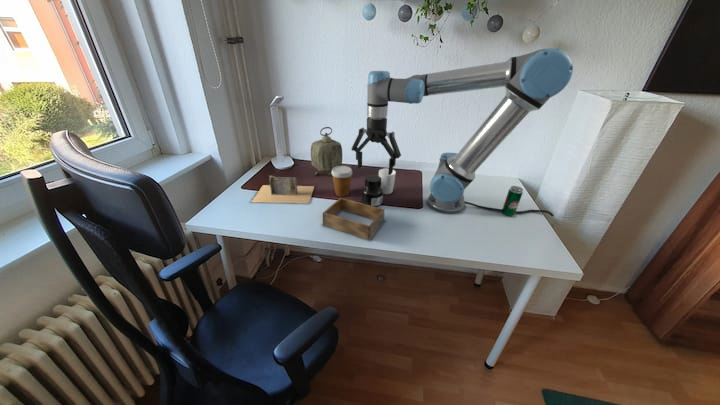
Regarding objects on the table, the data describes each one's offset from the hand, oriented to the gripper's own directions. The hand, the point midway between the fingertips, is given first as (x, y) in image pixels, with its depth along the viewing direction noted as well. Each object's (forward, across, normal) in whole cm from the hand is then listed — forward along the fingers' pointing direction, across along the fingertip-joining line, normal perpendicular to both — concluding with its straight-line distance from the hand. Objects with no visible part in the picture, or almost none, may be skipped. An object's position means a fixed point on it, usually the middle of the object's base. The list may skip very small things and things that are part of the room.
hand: (374, 170), depth 111 cm
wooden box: (+16, +1, +17) cm, 23 cm away
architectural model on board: (+15, +40, +11) cm, 44 cm away
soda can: (+17, -53, -20) cm, 59 cm away
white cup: (+16, 0, -14) cm, 21 cm away
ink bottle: (+16, +1, 0) cm, 16 cm away
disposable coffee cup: (+16, +17, -2) cm, 23 cm away
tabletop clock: (+16, +34, -17) cm, 41 cm away
